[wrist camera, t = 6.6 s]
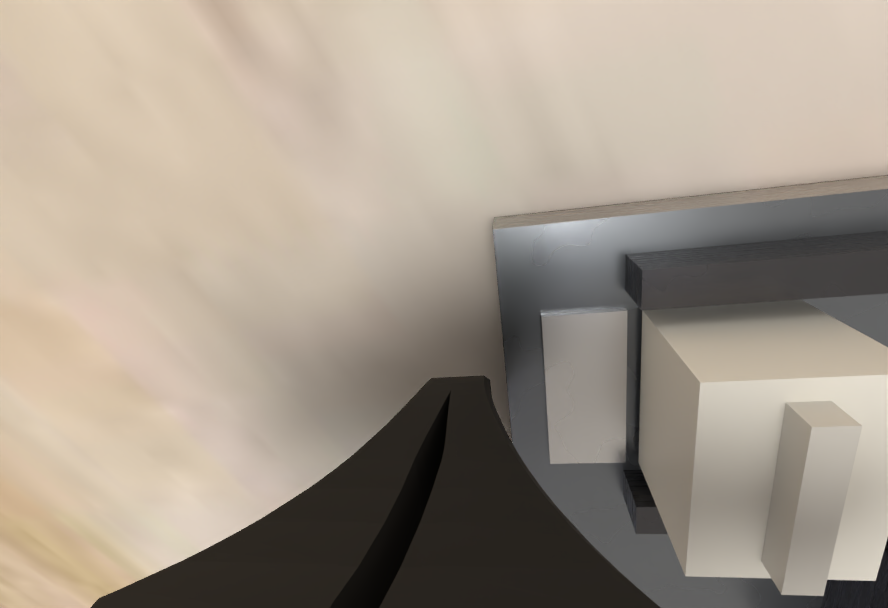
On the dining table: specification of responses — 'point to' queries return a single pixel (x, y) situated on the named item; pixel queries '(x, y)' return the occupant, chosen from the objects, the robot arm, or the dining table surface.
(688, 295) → the panel
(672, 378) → the sliding toggle
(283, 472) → the dining table surface
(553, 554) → the robot arm
